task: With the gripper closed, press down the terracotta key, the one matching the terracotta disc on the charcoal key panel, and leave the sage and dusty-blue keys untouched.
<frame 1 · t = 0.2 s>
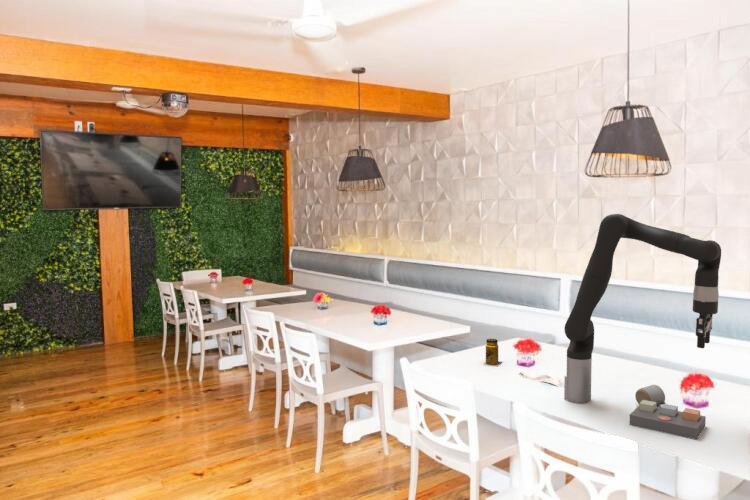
hand: (703, 345, 202), 28 cm above the table, tool pointing down, fingers open, 8 cm apart
blue key: (669, 411, 205), point 4 cm above the table, slide at 0.0 cm
cloth: (545, 381, 257), on the table
ceramic mug: (652, 407, 222), on the table
key panel: (667, 425, 203), on the table
terracotta key: (691, 415, 200), point 4 cm above the table, slide at 0.0 cm
sage key: (647, 407, 209), point 4 cm above the table, slide at 0.0 cm
condiment: (492, 363, 285), on the table
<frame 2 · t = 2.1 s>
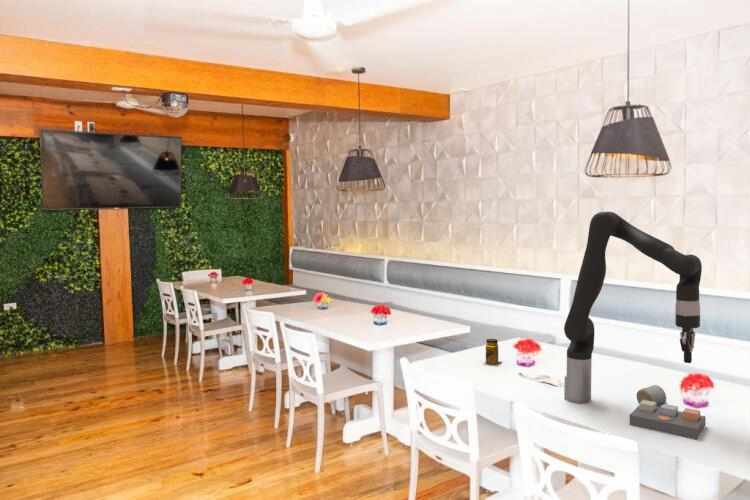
hand: (687, 362, 202), 22 cm above the table, tool pointing down, fingers closed
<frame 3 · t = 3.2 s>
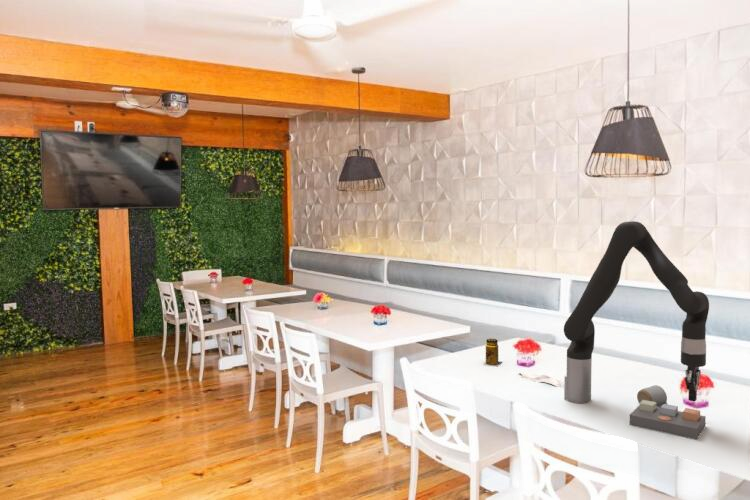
hand: (692, 400, 200), 10 cm above the table, tool pointing down, fingers closed
nothing on the table moved.
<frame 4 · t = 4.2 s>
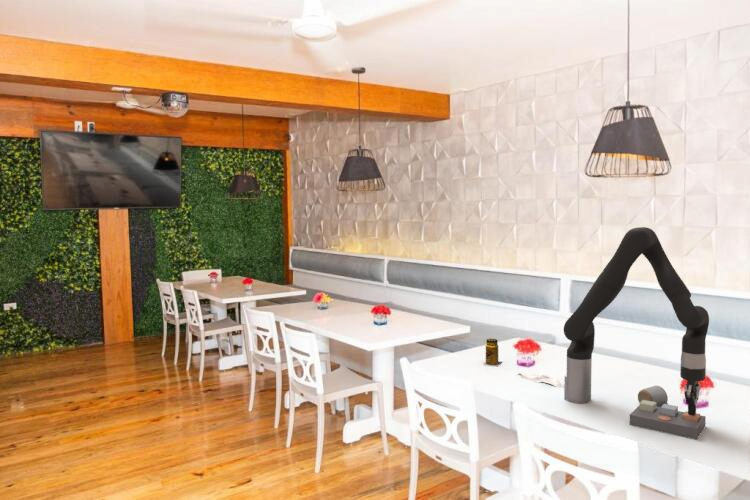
hand: (691, 414, 200), 5 cm above the table, tool pointing down, fingers closed
terracotta key: (691, 419, 201), point 3 cm above the table, slide at 1.2 cm, touching gripper
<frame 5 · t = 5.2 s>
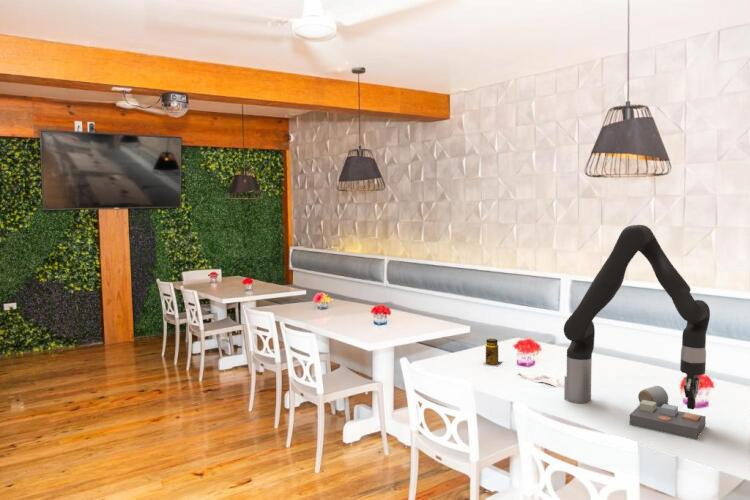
hand: (690, 408, 200), 7 cm above the table, tool pointing down, fingers closed
terracotta key: (691, 420, 201), point 3 cm above the table, slide at 1.7 cm
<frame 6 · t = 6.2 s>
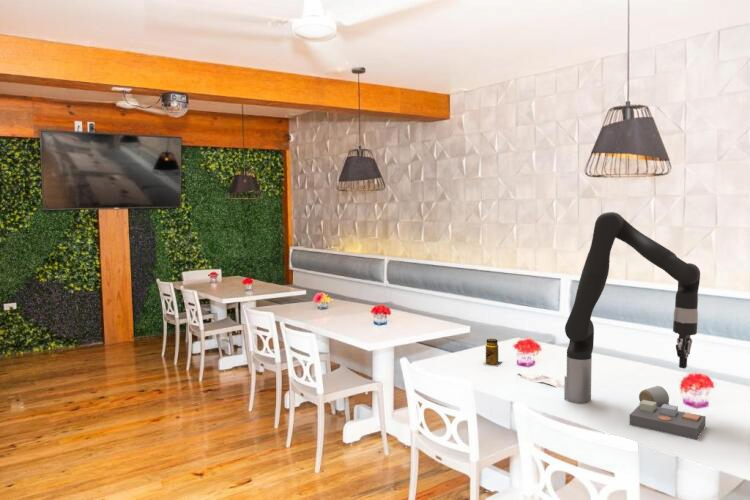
hand: (682, 367, 209), 18 cm above the table, tool pointing down, fingers closed
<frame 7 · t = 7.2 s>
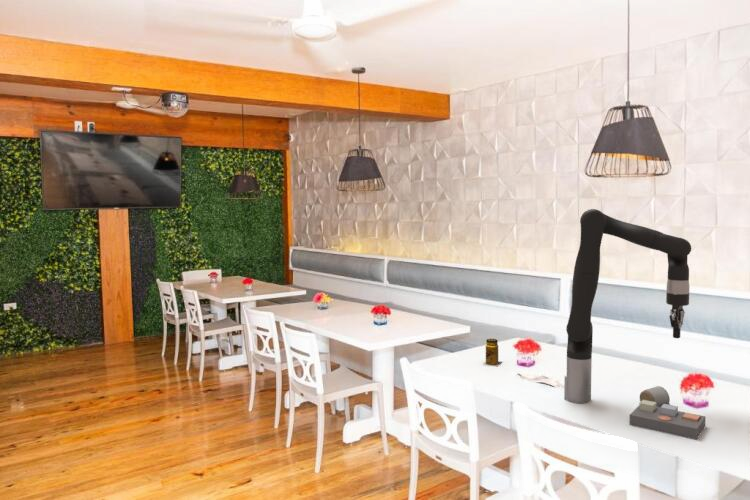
hand: (676, 337, 218), 27 cm above the table, tool pointing down, fingers closed
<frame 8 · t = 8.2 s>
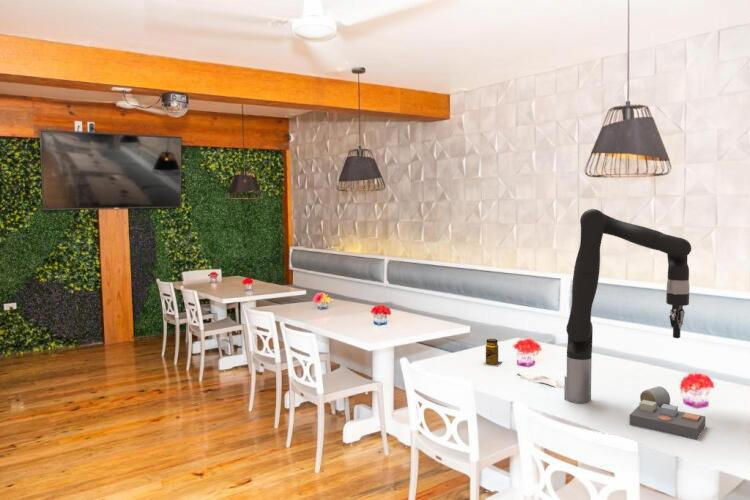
hand: (676, 337, 218), 27 cm above the table, tool pointing down, fingers closed
at the end: terracotta key slide at 1.7 cm; sage key slide at 0.0 cm; blue key slide at 0.0 cm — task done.
